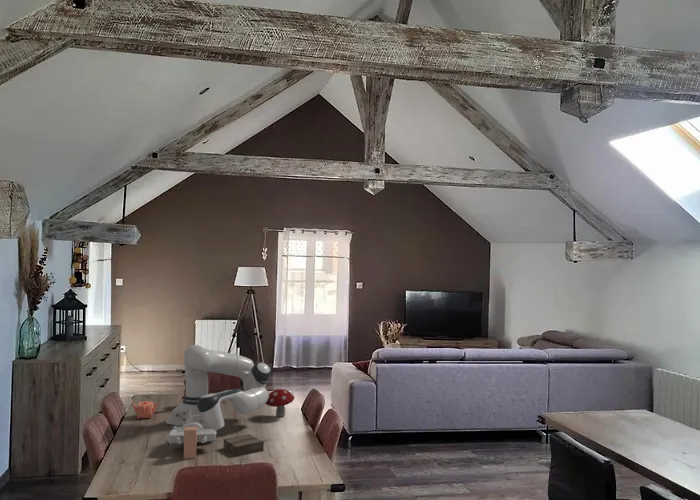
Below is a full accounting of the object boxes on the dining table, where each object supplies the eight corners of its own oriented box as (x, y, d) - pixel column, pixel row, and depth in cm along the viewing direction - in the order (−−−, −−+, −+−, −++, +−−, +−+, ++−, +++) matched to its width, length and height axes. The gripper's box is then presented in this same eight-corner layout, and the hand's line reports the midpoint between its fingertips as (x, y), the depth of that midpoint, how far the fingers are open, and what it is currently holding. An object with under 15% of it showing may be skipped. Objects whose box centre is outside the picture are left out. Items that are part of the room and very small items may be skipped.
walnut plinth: (223, 448, 268) (223, 439, 268) (249, 443, 276) (249, 434, 276) (236, 456, 257) (237, 447, 257) (263, 450, 265) (263, 441, 265)
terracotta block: (184, 454, 258) (184, 427, 258) (196, 454, 259) (196, 426, 259) (183, 458, 253) (184, 430, 254) (195, 458, 254) (196, 429, 255)
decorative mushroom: (296, 420, 315) (297, 391, 315) (266, 422, 310) (267, 393, 310) (291, 412, 330) (291, 384, 330) (262, 414, 325) (262, 386, 326)
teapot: (158, 419, 312) (159, 403, 312) (128, 420, 309) (128, 404, 309) (160, 413, 324) (161, 398, 324) (131, 414, 320) (131, 399, 320)
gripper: (216, 438, 272) (216, 447, 258) (169, 440, 268) (166, 450, 254) (216, 424, 272) (216, 433, 258) (170, 426, 268) (167, 435, 254)
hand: (191, 441), depth 256 cm, fingers open, 8 cm apart
